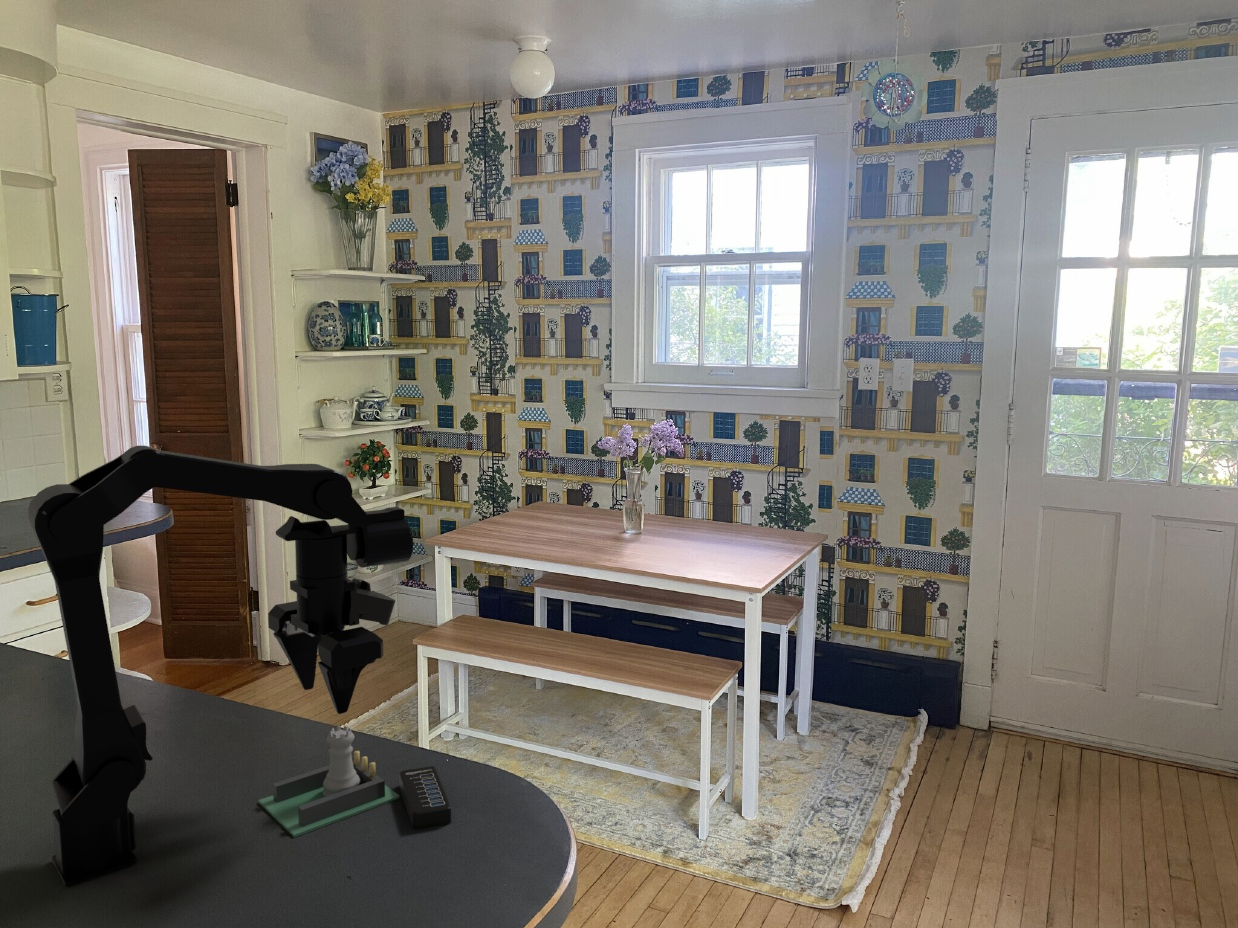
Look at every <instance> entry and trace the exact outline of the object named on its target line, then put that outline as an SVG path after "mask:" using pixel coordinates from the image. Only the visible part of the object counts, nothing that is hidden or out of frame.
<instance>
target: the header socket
mask: <svg viewBox="0 0 1238 928" xmlns="http://www.w3.org/2000/svg"><path fill="white" fill-rule="evenodd" d="M360 755H361V752H360V750H355V751H354V752H353V757H352V762H353V767H354V770H356V774H358V776H359V778H360V783H359V784H360V785H358V786H355V787H353V788H350V789H347V790H344V791H341V792H338V793H335V794H333V795H330V796H327V797H325V796H324V795H323V793H322V791H323V789H324V787H323V782H324V780H325V778H326V777H327V776H326V775H327V773H328V772H329V767H330V764H329V765H326V766H323V767H320V768H317V769H314V770H313V769H312V770H310V771H307V772H304V773H301V774H298V775H295V776H291V777H289V778H286V779H283V780H280V781H276V782H274V783H272V790H273V791H272V794H273V795H270V796H267V797H263V798H260V799H258V801H257V803H258V804H259V805H260V806H261V807H263V809H265V810H266V812H268V814H270V815H271V817H272V818H274V819H275V820H276V821H277V823H279V824H280V826H282V827H283V828H284V829H285V830H286V831H287V832H288V833H289V834H290V835H291V836H292V837H293V838H297V837H299V836H301V835H305V834H307V833H311V832H312V831H315V830H319V829H320V828H323V827H326V826H329V825H331V824H333V823H338V822H339V821H342V820H345V819H347V818H351V817H353V816H356V815H358V814H360V813H361V814H362V813H363V812H367V811H369V810H371V809H375V808H378V807H379V806H383V805H385V804H387V803H391V802H393V801H396V800H398V799H400V798H401V797H400V794H398V793H397V792H395V791H394V790H393V789H392V788H390V787H389V786H387V784H385V783H386V781H385V779H383V778H381V777H380V776H379V775H377V774H376V773H377V772H376V762H375V761H372V762H369V765H368V761H369V760H368V759H369V758H368V756H365V755H364V756H360ZM368 766H369V767H368Z"/></svg>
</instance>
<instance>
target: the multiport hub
mask: <svg viewBox="0 0 1238 928" xmlns="http://www.w3.org/2000/svg"><path fill="white" fill-rule="evenodd" d="M398 774H399V781H398V783H399V790H400V793H401V797H402V800H403V803H404V806H405V809H406V813H407V816H408V818H409V822H410V825H411V829H412V830H414V831H420V830H423V829H430V828H435V827H440V826H446V825H450V824H452V805H451V802H450V800H449V798H448V795H447V792H446V790H445V787H444V785H443V782H442V780H441V777H440V775H439V773H438V770H437V768H436V766H434V765H429V766H424V767H423V766H422V767H416V768H411V769H404V770H403V769H402V770H400V771H399V773H398Z"/></svg>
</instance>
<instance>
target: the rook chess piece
mask: <svg viewBox="0 0 1238 928" xmlns="http://www.w3.org/2000/svg"><path fill="white" fill-rule="evenodd" d="M328 733H329V734H328V736H327V737H326V740H325V741H326V742H327V743H328V745H329V747H330V748H329V749H328V751H327V752H328V754H329V756H330V757H329V759H330V761H329V765H330V767H329V772H328V773H327V775H326V776H327V777H326V778H325V780H324V782H323V787H324V789H323V791H322V793H323V795H324V796H325V797H327V796H330V795H333V794H335V793H338V792H341V791H344V790H347V789H350V788H353V787H355V786H358V785H360V784H359V783H360V778H359V776H358V774H356V770H354V767H353V762H352V758H353V755H352V752H353V750H354V747H353V746H352V742H353V741H354V740H355V734H354V733H353V732H352V728H351V727H349V726H347V725H344V726H343V729H341V726H339V725H338V726H336V729H335V728H332V727H331V729H330V730H329V732H328Z"/></svg>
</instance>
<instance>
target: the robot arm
mask: <svg viewBox="0 0 1238 928" xmlns="http://www.w3.org/2000/svg"><path fill="white" fill-rule="evenodd" d="M154 488H161V489H169V490H175V491H176V490H177V491H182V492H184V491H185V492H193V493H199V494H207V495H213V496H214V495H216V496H222V497H230V498H237V499H246V500H253V501H261V502H267V503H269V504H273V505H276V506H280V507H281V508H285V509H287V510H291V511H294V512H298V513H300V514H303V515H306V516H309V517H313V518H316V519H319V520H312V521H311V520H309V521H302V522H301V521H300V519H299V518H297V517H296V516H293V515H290V516H288V518H287V521H286V522H285V523H283V524H282V525H281V526H280V527H279V528H278V529H276V530H275V535H276V536H277V537H279V538H280V539H282V540H284V541H285V542H294V543H295V544H294V546H295V547H294V548H295V579H294V580H289V589H290V590H291V591H293V592H294V593H296V600H295V601H290V602H284V603H278V604H274V606H273V607H272V608H271V610H269V612H268V613H267V620H268V621H267V622H268V625H267V626H268V629H270V630H271V631H272V632H273V637H274V638H275V639H276V641H277V643H278V644H279V646H280V647H281V649H282V651H283V652H284V655H285V657H286V658H287V661H288V662H289V664H290V666H291V667H292V669H293V672H294V673H295V676H297V679H298V681H299V683H300V685H301V687H302V688H303V690H305V691H307V690H308V691H309V690H313V688H314V686H315V680H316V674H317V672H316V671H317V664H318V667H319V670H320V672H321V674H322V677H323V680H324V684H325V685H326V688H327V691H328V693H329V697H330V699H331V701H332V705H333V706H334V709H335V711H336V713H337V714H339V715H341V714H345V713H347V712H348V711H349V707H350V704H351V700H352V698H353V695H354V691H355V688H356V685H357V683H358V679H359V677H360V675H361V674H362V673H361V672H362V670H363V669H365V668H366V667H367V666H368V665H371V664H374V663H375V662H376V661H377V660H378V659H382V658H383V656H384V640H383V638H381V637H380V636H379V635H377V634H376V633H375V632H373V631H371V630H369V629H367V628H366V627H363V626H359V627H358V626H357V625H360V620H363V621H369V622H373V623H374V622H375V623H379V625H383V626H388V625H389V623H390V620H391V617H392V613H393V610H394V607H395V603H396V600H395V599H393V598H392V597H390V596H388V595H385V594H383V593H380V592H377V591H375V590H372V589H371V583H370V582H368V581H366V580H364V579H360V578H356V577H353V578H352V579H350V578H348V573H349V572H348V558H349V560H350V561H355V563H356V564H357V565H358V567H359V568H362V569H363V568H369V567H377V566H378V567H379V566H382V565H383V566H384V565H392V564H398V563H406V562H408V561H410V559H411V558H412V555H413V549H414V537H413V536H412V533H411V530H410V529H411V528H410V526H409V524H408V522H407V520H406V517H405V509H404V508H401V507H399V506H390V507H386V508H383V509H378V510H377V509H376V510H366V511H365V510H364V509H363V507H362V506H361V505H360V503H358V502H357V500H356V499H355V498H354V496H353V487H352V484H351V481H350V480H349V479H348V478H347V475H345V474H344V473H343V472H340V471H337V470H336V469H332V468H331V467H330V468H329V467H327V466H323V465H321V464H317V463H285V464H276V465H259V464H251V463H245V462H239V461H234V460H233V461H231V460H227V459H220V458H212V457H206V456H202V455H201V456H199V455H194V454H186V453H180V452H173V451H167V450H160V449H156V448H153V447H150V446H148V445H135V446H132V447H129V448H128V449H127V450H125V451H124V452H123V453H122V454H120V455H119V456H117V457H115V458H114V459H112V460H111V461H108V462H106V463H104V464H103V465H100V466H98V467H96V468H94V469H92V470H90V471H87V472H86V473H84V474H82V475H81V476H79V477H77V478H76V479H74V480H73V481H71V482H69V483H68V484H66V483H63V484H61V483H60V484H53V485H50V486H46V487H45V488H43V489H42V490H40V491H38V492H37V494H36V495H35V496H34V497H33V498H32V500H31V501H30V502H29V505H28V508H27V511H28V512H27V513H28V514H27V515H28V521H29V523H30V526H31V528H32V531H33V533H34V535H35V538H36V540H37V543H38V545H39V547H40V550H41V552H42V555H43V557H44V558H45V561H46V563H47V566H48V568H49V571H50V573H51V575H52V577H53V580H54V585H55V590H56V596H57V599H58V600H57V601H58V606H59V612H60V619H61V623H62V628H63V633H64V639H65V643H66V650H67V656H68V660H69V661H68V662H69V665H70V671H71V672H70V673H71V677H72V682H73V687H74V693H75V698H76V704H77V705H76V706H77V707H76V708H77V709H76V718H75V722H74V723H75V724H74V733H73V736H74V738H73V739H74V741H73V757H72V758H71V759H70V760H69V761H68V763H66V765H65V766H64V767H63V768H62V769H61V770H60V771H59V772H58V774H57V775H56V776H54V778H53V779H52V780H51V786H52V789H53V793H54V794H55V798H56V802H57V806H58V809H54V810H52V823H53V825H52V826H53V835H54V848H55V849H54V851H55V854H54V855H52V856H51V862H52V864H53V866H54V868H55V869H56V872H57V873H58V875H59V878H60V879H61V881H62V882H63V884H64V886H65V887H72V886H75V885H77V884H80V883H81V884H82V883H83V882H88V881H89V880H92V879H95V878H97V877H101V876H104V875H106V874H109V873H112V872H114V871H118V870H120V869H123V868H127V867H129V866H132V865H134V864H136V863H137V857H136V855H135V853H134V852H133V851H134V850H135V849H136V848H137V836H136V822H135V813H134V812H133V809H131V807H130V806H129V804H128V801H129V799H130V796H131V793H132V792H133V791H135V790H136V789H137V787H138V786H140V784H141V782H142V781H144V779H145V777H146V773H147V763H146V761H150V762H151V761H153V755H152V754H151V751H149V748H148V746H147V723H146V721H145V720H144V718H143V716H142V715H141V712H140V711H139V710H138V709H139V708H137V706H136V705H135V704H132V705H131V706H127V707H125V708H123V705H122V701H121V695H120V690H119V689H120V688H119V684H118V677H117V671H116V667H115V665H116V664H115V661H114V660H115V659H114V656H113V655H114V654H113V649H112V643H111V638H110V632H109V626H108V625H109V624H108V621H107V615H106V610H105V609H106V608H105V603H104V597H103V593H102V586H101V582H100V581H101V580H100V577H101V576H100V575H101V574H100V573H101V568H102V562H103V561H102V559H103V553H104V536H105V535H104V533H105V532H104V531H105V530H104V527H105V526H104V525H106V524H108V523H109V522H110V521H112V520H114V519H115V518H116V517H119V515H121V514H122V513H124V511H126V510H127V509H128V508H129V507H130V506H132V505H133V504H135V502H136V501H137V500H139V499H140V498H141V497H143V496H144V494H146V493H148V492H149V491H150V490H153V489H154ZM334 519H337V520H339V521H341V522H343V523H345V524H340V525H330V524H329V522H328V520H334ZM346 626H349V627H352V626H353V627H354V626H357V627H354V628H348V629H345V627H346ZM318 656H319V659H320V661H317V659H318Z"/></svg>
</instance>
